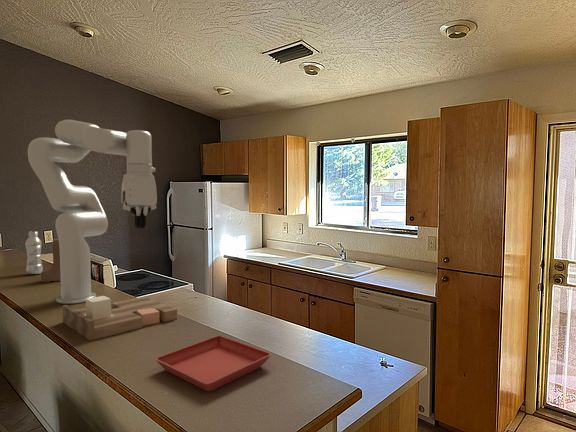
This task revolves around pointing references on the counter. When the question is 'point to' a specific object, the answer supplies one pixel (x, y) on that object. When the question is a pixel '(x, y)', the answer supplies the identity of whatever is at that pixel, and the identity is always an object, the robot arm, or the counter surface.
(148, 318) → the salmon block
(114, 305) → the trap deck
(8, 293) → the counter surface
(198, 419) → the counter surface
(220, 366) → the plant saucer
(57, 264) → the wooden block
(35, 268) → the plastic bottle
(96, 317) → the cream cube
